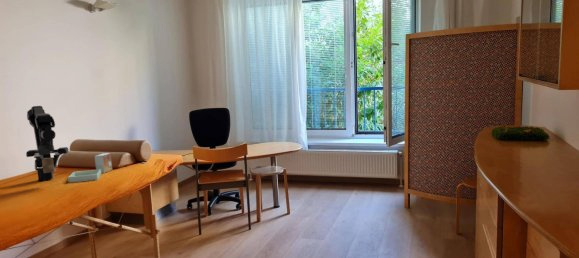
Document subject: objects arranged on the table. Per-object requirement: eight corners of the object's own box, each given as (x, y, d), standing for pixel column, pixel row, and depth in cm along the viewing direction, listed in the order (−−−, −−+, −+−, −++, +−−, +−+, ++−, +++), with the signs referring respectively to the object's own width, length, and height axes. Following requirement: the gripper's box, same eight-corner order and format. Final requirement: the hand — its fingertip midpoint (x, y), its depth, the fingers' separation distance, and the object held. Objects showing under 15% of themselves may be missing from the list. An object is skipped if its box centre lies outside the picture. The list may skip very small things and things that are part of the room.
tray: (68, 182, 231) (68, 177, 230) (74, 176, 244) (73, 171, 244) (97, 179, 235) (97, 174, 234) (101, 174, 248) (100, 169, 248)
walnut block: (43, 173, 222) (41, 159, 221) (46, 171, 227) (44, 158, 226) (54, 171, 224) (52, 158, 223) (56, 170, 228) (54, 157, 227)
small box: (104, 173, 251) (102, 155, 250) (96, 173, 252) (94, 155, 251) (112, 170, 259) (111, 153, 258) (104, 170, 260) (102, 153, 259)
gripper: (21, 142, 213) (24, 173, 215) (62, 139, 218) (65, 169, 220) (27, 139, 224) (31, 168, 225) (67, 136, 229) (70, 165, 231)
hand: (49, 168), depth 225 cm, fingers closed on walnut block, 5 cm apart
